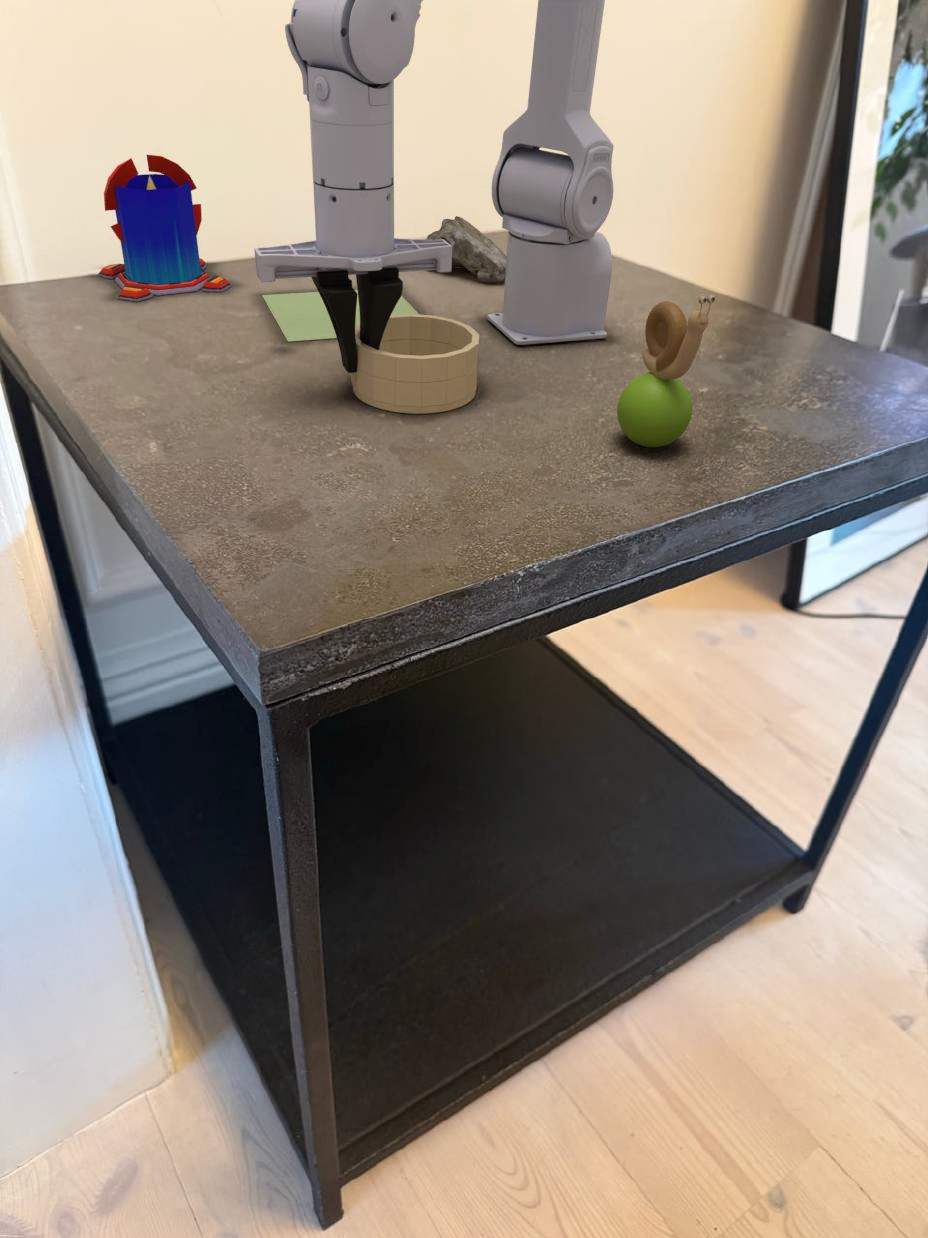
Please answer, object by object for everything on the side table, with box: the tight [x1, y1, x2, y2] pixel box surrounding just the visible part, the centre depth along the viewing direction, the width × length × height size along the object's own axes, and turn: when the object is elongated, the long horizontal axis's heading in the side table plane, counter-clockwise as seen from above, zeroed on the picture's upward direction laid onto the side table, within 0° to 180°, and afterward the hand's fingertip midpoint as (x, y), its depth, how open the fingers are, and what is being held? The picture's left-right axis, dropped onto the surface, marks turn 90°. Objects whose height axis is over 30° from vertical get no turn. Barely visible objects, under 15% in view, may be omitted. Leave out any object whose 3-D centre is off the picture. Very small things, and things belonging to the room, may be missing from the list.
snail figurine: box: [616, 294, 716, 448], centre depth 65 cm, size 5×6×12 cm
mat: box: [261, 289, 420, 343], centre depth 90 cm, size 14×14×1 cm
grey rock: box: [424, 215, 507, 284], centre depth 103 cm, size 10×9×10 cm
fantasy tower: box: [97, 154, 233, 303], centre depth 93 cm, size 12×12×12 cm
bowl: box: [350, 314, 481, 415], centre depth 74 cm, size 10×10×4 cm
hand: (358, 367), depth 73 cm, fingers closed on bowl
